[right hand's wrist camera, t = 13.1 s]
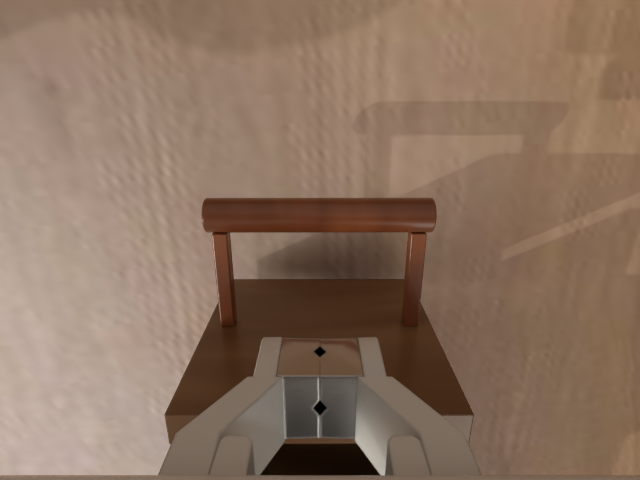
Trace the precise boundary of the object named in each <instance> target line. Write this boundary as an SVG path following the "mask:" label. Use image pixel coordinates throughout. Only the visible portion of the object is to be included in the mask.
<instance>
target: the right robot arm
mask: <svg viewBox="0 0 640 480" xmlns="http://www.w3.org/2000/svg"><path fill="white" fill-rule="evenodd" d="M306 438H333V439H355V442H356V443H357V444H358V446H359V447H360V448H361V450H362V451H363V452H364V454H365V455H366V456H367V458H368V459H369V460H370V462H371V463H372V464H373V466H374V467H375V468H376V470H377V471H378V473H379V474H380V475H260V474H261V473H262V471H263V470H264V469H265V467H266V466H267V465H268V463H269V462H270V461H271V459H272V458H273V457H274V455H275V454H276V453H277V451H278V450H279V449H280V447H281V446H282V445H283V443H284V442H285V439H306ZM0 480H640V475H482V474H481V472H480V469H479V467H478V464H477V462H476V460H475V457H474V455H473V453H472V450H471V448H470V445H469V443H468V441H467V438H466V436H465V434H464V433H463V432H461V431H460V430H459V429H458V428H456V427H455V426H454V425H453V424H451V423H450V422H449V421H448V420H446V419H445V418H444V417H443V416H441V415H440V414H439V413H438V412H436V411H435V410H434V409H432V408H431V407H430V406H429V405H427V404H426V403H425V402H424V401H422V400H421V399H420V398H419V397H417V396H416V395H415V394H414V393H412V392H411V391H410V390H409V389H407V388H406V387H405V386H404V385H402V384H401V383H400V382H399V381H397V380H396V379H395V378H393V377H387V375H386V371H385V367H384V363H383V358H382V354H381V350H380V346H379V342H378V338H377V337H358V338H301V337H283V338H282V337H264V338H263V339H262V341H261V345H260V350H259V354H258V358H257V362H256V367H255V371H254V375H253V377H247V378H245V379H244V380H243V381H241V382H240V383H239V384H238V385H236V386H235V387H234V388H233V389H231V390H230V391H229V392H228V393H226V394H225V395H224V396H223V397H221V398H220V399H219V400H217V401H216V402H215V403H214V404H212V405H211V406H210V407H209V408H207V409H206V410H205V411H204V412H202V413H201V414H200V415H199V416H197V417H196V418H195V419H193V420H192V421H191V422H190V423H188V424H187V425H186V426H185V427H183V428H182V429H181V430H180V431H178V432H177V433H176V434H175V436H174V439H173V441H172V443H171V446H170V448H169V450H168V453H167V455H166V457H165V460H164V462H163V465H162V467H161V469H160V472H159V474H158V475H0Z"/></svg>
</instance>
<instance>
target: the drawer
mask: <svg viewBox="0 0 640 480" xmlns="http://www.w3.org/2000/svg"><path fill="white" fill-rule="evenodd" d="M202 223H203V227H204V230H205V231H206V232H213V234H212V242H213V252H214V262H215V272H216V282H217V292H218V304H217V306H216V308H215V310H214V312H213V314H212V316H211V319H210V321H209V323H208V325H207V327H206V329H205V331H204V333H203V335H202V337H201V340H200V342H199V344H198V346H197V348H196V350H195V352H194V354H193V356H192V358H191V360H190V363H189V365H188V367H187V369H186V371H185V373H184V375H183V377H182V379H181V381H180V384H179V386H178V388H177V390H176V392H175V394H174V396H173V398H172V400H171V402H170V405H169V407H168V409H167V411H166V413H165V421H166V426H167V432H168V438H169V443H170V444H171V443H172V441H173V439H174V436H175V434H176V433H177V432H178V431H180V430H181V429H182V428H183V427H185V426H186V425H187V424H188V423H190V422H191V421H192V420H193V419H195V418H196V417H197V416H199V415H200V414H201V413H202V412H204V411H205V410H206V409H207V408H209V407H210V406H211V405H212V404H214V403H215V402H216V401H217V400H219V399H220V398H221V397H223V396H224V395H225V394H226V393H228V392H229V391H230V390H231V389H233V388H234V387H235V386H236V385H238V384H239V383H240V382H241V381H243V380H244V379H245V378H247V377H253V375H254V371H255V367H256V362H257V358H258V354H259V350H260V345H261V341H262V339H263V338H264V337H282V338H283V337H301V338H358V337H377V338H378V342H379V346H380V350H381V354H382V358H383V363H384V367H385V371H386V375H387V377H393V378H395V379H396V380H397V381H399V382H400V383H401V384H402V385H404V386H405V387H406V388H407V389H409V390H410V391H411V392H412V393H414V394H415V395H416V396H417V397H419V398H420V399H421V400H422V401H424V402H425V403H426V404H427V405H429V406H430V407H431V408H432V409H434V410H435V411H436V412H438V413H439V414H440V415H441V416H443V417H444V418H445V419H446V420H448V421H449V422H450V423H451V424H453V425H454V426H455V427H456V428H458V429H459V430H460V431H461V432H463V433H464V434H465V436H466V438H467V441H468V443H469V440H470V434H471V428H472V422H473V416H474V414H473V412H472V410H471V408H470V406H469V404H468V401H467V399H466V397H465V395H464V393H463V391H462V389H461V387H460V385H459V382H458V380H457V378H456V376H455V374H454V372H453V370H452V368H451V366H450V364H449V361H448V359H447V357H446V355H445V353H444V351H443V349H442V347H441V345H440V342H439V340H438V338H437V336H436V334H435V332H434V330H433V328H432V326H431V324H430V321H429V319H428V317H427V315H426V313H425V311H424V309H423V307H422V305H421V303H420V298H421V287H422V277H423V267H424V257H425V246H426V236H427V234H426V233H425V232H432V231H433V230H434V228H435V224H436V205H435V201H434V199H432V198H206V199H205V200H204V202H203V206H202ZM230 232H408V243H407V255H406V268H405V279H234V276H233V264H232V252H231V240H230ZM260 475H380V474H379V473H378V471H377V470H376V468H375V467H374V466H373V464H372V463H371V462H370V460H369V459H368V458H367V456H366V455H365V454H364V452H363V451H362V450H361V448H360V447H359V446H358V444H357V443H356V442H355V439H333V438H306V439H285V442H284V443H283V445H282V446H281V447H280V449H279V450H278V451H277V453H276V454H275V455H274V457H273V458H272V459H271V461H270V462H269V463H268V465H267V466H266V467H265V469H264V470H263V471H262V473H261V474H260Z"/></svg>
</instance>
